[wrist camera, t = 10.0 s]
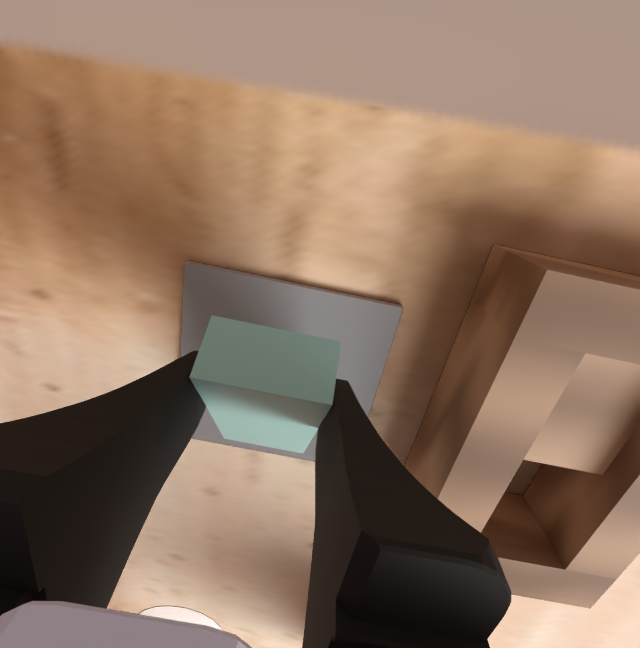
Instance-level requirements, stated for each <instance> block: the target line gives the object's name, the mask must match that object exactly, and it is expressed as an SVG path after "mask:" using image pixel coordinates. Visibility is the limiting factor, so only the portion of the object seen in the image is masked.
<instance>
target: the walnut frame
mask: <svg viewBox="0 0 640 648" xmlns="http://www.w3.org/2000/svg"><path fill="white" fill-rule="evenodd" d="M523 460H528V461H533V462H538V463H543V465H542V466H541V468H540V470H539V471H538V473H537V474H536V476H535V478H534V479H533V481H532V482H531V484H530V486H529V487H528V489H527V491H526V492H525V494H524V495H523V496H522V495H517V494H512V493H506V492H505V490H506V489H507V487H508V485H509V484H510V482H511V480H512V478H513V477H514V475H515V473H516V472H517V470H518V468H519V466H520V465H521V463H522V461H523ZM404 467H405V468H406V469H407V470H408V471H409V472H410V473H411V474H412V475H413V476H414V477H415V478H416V479H417V480H418V481H419V482H420V483H421V484H422V485H423V486H424V487H425V488H426V489H427V490H428V491H429V492H430V493H431V494H433V495H434V496H435V497H436V498H437V499H438V500H439V501H441V502H442V503H443V504H444V505H445V506H446V507H448V508H449V509H450V510H451V511H452V512H454V513H455V514H456V515H457V516H459V517H460V518H461V519H463V520H464V521H465V522H467V523H468V524H470V525H471V526H472V527H474V528H475V529H476V530H478V531H479V532H480V533H482V534H483V535H484V536H486V537H487V538H488V539H489V541H490V543H491V545H492V547H493V549H494V551H495V553H496V555H497V557H498V559H499V562H500V564H501V567H502V569H503V572H504V574H505V577H506V579H507V582H508V584H509V587H510V589H511V594H512V595H518V596H523V597H529V598H535V599H540V600H546V601H551V602H557V603H563V604H568V605H574V606H580V607H585V608H591V607H592V606H593V605H594V604H595V603H596V602H597V600H598V599H599V598H600V597H601V596H602V595H603V594H604V593H605V592H606V590H607V589H608V588H609V587H610V586H611V585H612V584H613V583H614V581H615V580H616V579H617V578H618V577H619V576H620V575H621V574H622V572H623V571H624V570H625V569H626V568H627V567H628V566H629V565H630V563H631V562H632V561H633V560H634V559H635V558H636V557H637V556H638V555H639V553H640V276H638V275H633V274H628V273H624V272H619V271H615V270H610V269H605V268H601V267H596V266H592V265H587V264H582V263H578V262H573V261H569V260H564V259H559V258H555V257H550V256H546V255H541V254H536V253H532V252H527V251H523V250H518V249H513V248H509V247H504V246H500V245H495V244H494V245H493V247H492V250H491V252H490V255H489V257H488V260H487V262H486V265H485V267H484V270H483V272H482V275H481V277H480V280H479V282H478V285H477V287H476V290H475V292H474V295H473V297H472V300H471V302H470V305H469V307H468V309H467V312H466V314H465V317H464V319H463V322H462V324H461V327H460V329H459V332H458V334H457V337H456V339H455V342H454V344H453V347H452V349H451V352H450V354H449V357H448V359H447V362H446V364H445V367H444V369H443V371H442V374H441V376H440V379H439V381H438V384H437V386H436V389H435V391H434V394H433V396H432V399H431V401H430V404H429V406H428V409H427V411H426V414H425V416H424V419H423V421H422V424H421V426H420V429H419V431H418V433H417V436H416V438H415V441H414V443H413V446H412V448H411V451H410V453H409V456H408V458H407V461H406V463H405V466H404Z"/></svg>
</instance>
